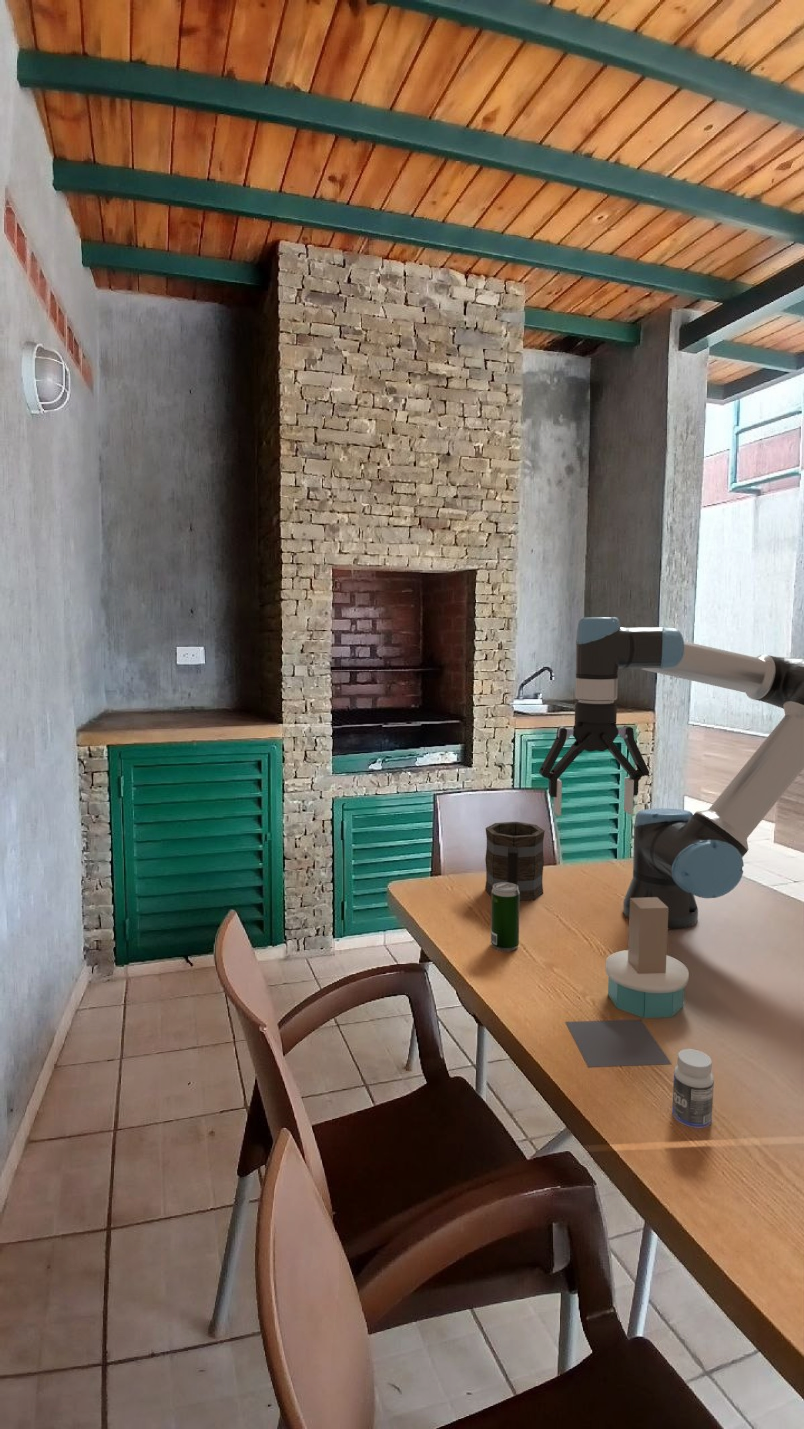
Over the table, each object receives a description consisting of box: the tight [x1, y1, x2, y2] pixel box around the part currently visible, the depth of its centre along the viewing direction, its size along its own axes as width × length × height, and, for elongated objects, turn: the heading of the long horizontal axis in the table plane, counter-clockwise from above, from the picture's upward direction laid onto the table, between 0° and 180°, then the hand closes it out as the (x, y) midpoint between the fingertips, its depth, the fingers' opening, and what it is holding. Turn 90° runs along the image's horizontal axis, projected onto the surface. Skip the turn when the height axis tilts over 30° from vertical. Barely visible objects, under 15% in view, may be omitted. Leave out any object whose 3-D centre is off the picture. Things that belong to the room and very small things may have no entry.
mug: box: [484, 821, 546, 903], centre depth 172 cm, size 20×14×15 cm
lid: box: [605, 897, 690, 993], centre depth 124 cm, size 13×13×12 cm
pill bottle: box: [671, 1048, 715, 1129], centre depth 95 cm, size 5×5×8 cm
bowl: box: [607, 977, 685, 1019], centre depth 125 cm, size 11×11×5 cm
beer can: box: [490, 882, 520, 952], centre depth 146 cm, size 5×5×12 cm
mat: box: [565, 1018, 673, 1068], centre depth 113 cm, size 12×12×1 cm
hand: (592, 813), depth 142 cm, fingers open, 13 cm apart
